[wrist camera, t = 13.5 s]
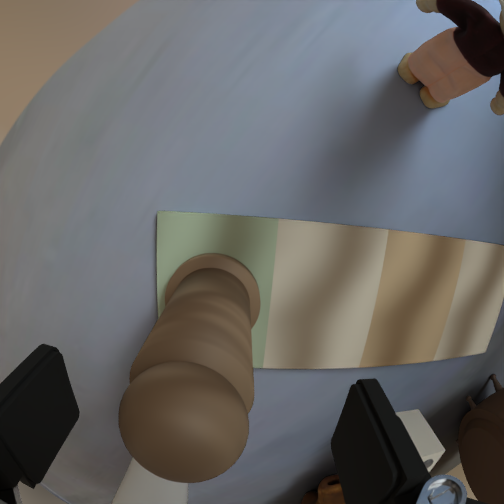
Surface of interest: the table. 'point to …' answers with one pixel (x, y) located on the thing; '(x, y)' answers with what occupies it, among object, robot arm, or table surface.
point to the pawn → (195, 374)
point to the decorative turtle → (326, 492)
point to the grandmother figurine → (458, 54)
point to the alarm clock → (484, 446)
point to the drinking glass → (149, 488)
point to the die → (422, 437)
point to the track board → (347, 288)
